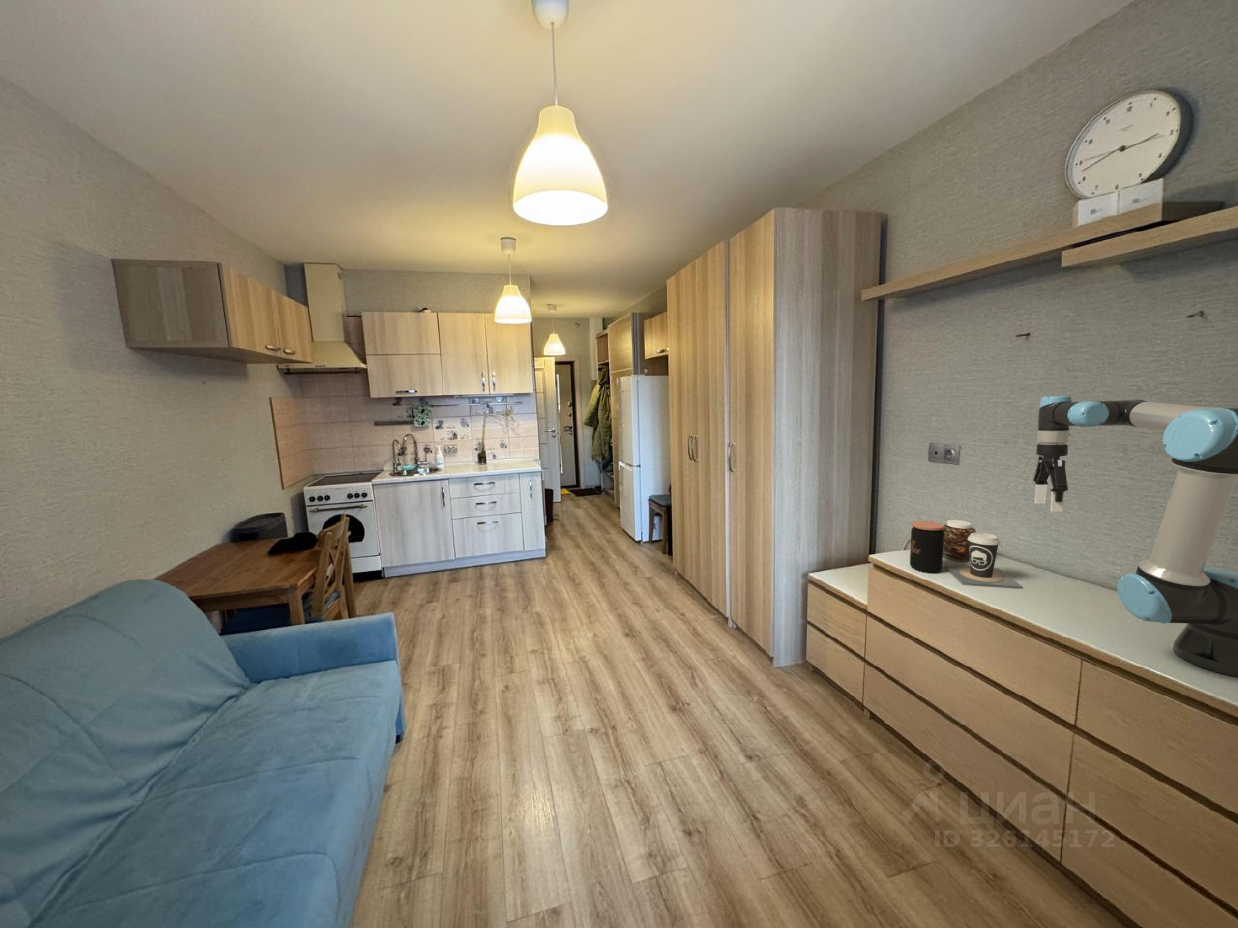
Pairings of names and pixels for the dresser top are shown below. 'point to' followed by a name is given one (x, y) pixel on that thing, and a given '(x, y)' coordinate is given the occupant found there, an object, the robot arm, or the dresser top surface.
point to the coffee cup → (982, 554)
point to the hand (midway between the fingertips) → (1047, 507)
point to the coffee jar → (927, 546)
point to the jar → (957, 540)
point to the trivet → (995, 581)
